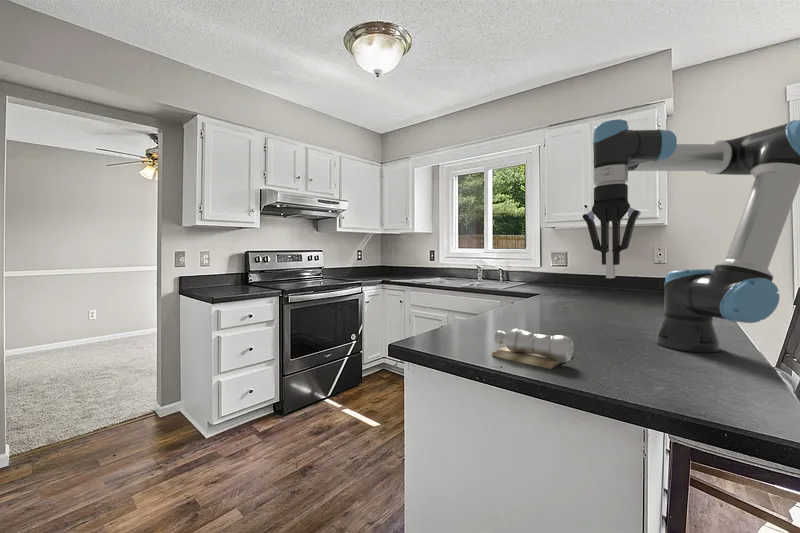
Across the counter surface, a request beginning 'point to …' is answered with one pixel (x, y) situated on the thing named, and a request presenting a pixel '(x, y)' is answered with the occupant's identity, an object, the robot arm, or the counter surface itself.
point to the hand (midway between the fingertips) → (610, 277)
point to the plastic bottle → (536, 344)
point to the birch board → (526, 358)
